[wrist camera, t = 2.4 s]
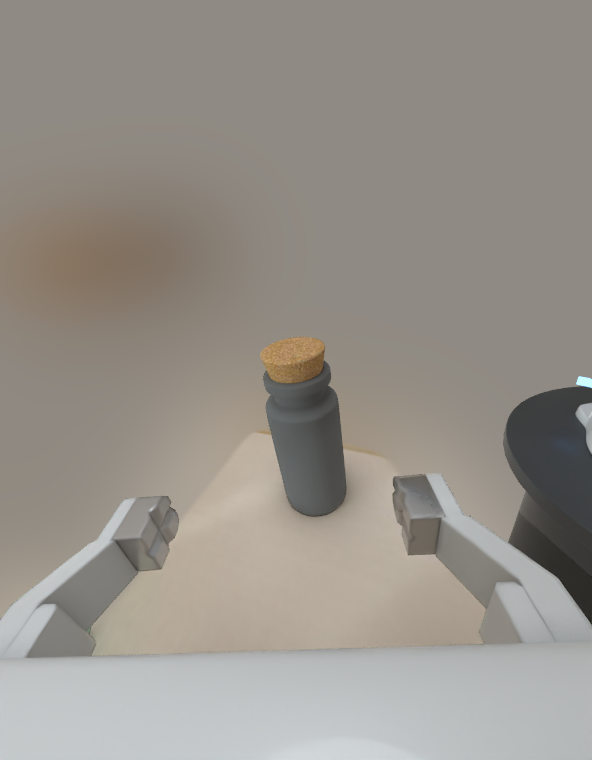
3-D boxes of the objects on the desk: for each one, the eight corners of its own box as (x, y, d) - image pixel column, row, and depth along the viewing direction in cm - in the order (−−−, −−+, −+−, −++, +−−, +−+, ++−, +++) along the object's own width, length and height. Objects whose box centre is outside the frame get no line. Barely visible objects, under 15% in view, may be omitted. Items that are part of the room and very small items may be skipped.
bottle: (282, 517, 26) (243, 370, 19) (290, 467, 31) (261, 337, 24) (348, 517, 25) (333, 362, 18) (345, 466, 30) (332, 330, 23)
